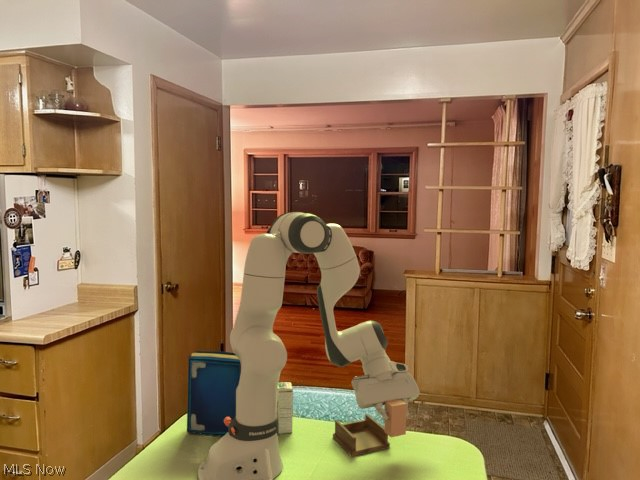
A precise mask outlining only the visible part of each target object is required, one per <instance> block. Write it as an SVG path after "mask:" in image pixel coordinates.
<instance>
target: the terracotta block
mask: <svg viewBox="0 0 640 480" xmlns="http://www.w3.org/2000/svg"><path fill="white" fill-rule="evenodd" d="M384 407H385V408H384V410H385V411H386V412H389V415H390V419H389V420H386V421H384V428H385V433H386V434H387V435H388V437H390V438H394V437H395V438H396V437H400V436H404V435H406V434H407V416H406V413H407V409H408V408H407V403H405V402H404V401H402V400H400V399H398V400H392V401H387V402H385V405H384Z"/></svg>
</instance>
